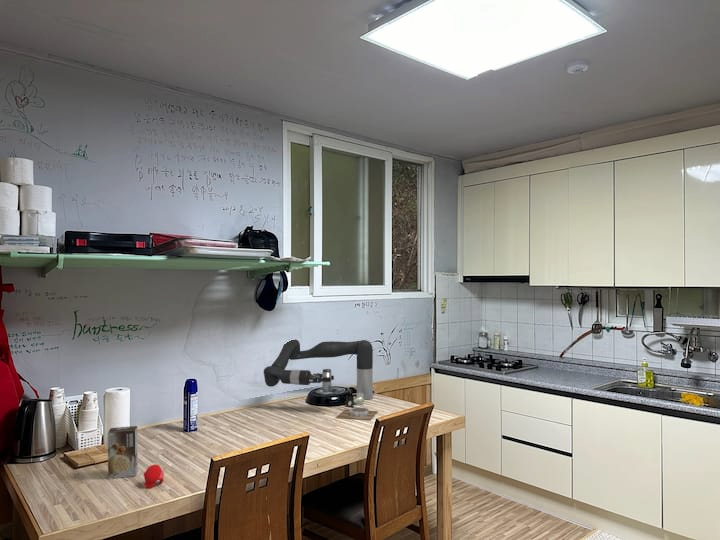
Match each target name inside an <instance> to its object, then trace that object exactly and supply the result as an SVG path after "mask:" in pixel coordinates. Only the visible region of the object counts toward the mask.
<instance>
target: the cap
mask: <svg viewBox="0 0 720 540" xmlns="http://www.w3.org/2000/svg"><path fill="white" fill-rule="evenodd" d="M164 475H165V473H164V470H163V469H162V467H160V465H159V464H152V465H149V467H147V468H146V470H145V472H143V478H144V486H145V489H147V490H150V489H152V488H153V487H154V486H155V485H156V483H157V481H159V484H163V482H164Z"/></svg>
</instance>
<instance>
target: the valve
mask: <svg viewBox="0 0 720 540" xmlns="http://www.w3.org/2000/svg"><path fill="white" fill-rule="evenodd" d="M363 397H364V394H363V393H357V392H356V397H355V398H352V397H351V396H348V397H345V401H344V402H343V403H344V404H345V407H346V408H350V409H351V408H355V405H357V406H364V405H365V404H364V401H365V400H364V398H363Z"/></svg>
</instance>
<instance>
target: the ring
mask: <svg viewBox="0 0 720 540" xmlns="http://www.w3.org/2000/svg"><path fill="white" fill-rule="evenodd" d="M369 411H370V410H369V408H366V407H362V406H361V407H357V406H356V407H354V408H351V407H350V409H349V415H350V416H352V417H366V416H368V415H369Z"/></svg>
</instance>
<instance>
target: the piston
mask: <svg viewBox="0 0 720 540" xmlns="http://www.w3.org/2000/svg"><path fill="white" fill-rule="evenodd" d="M321 374H322V377H330V378H331V375H332V369H331V368H325V369H324V368H323V369H322V373H321ZM321 383H322V393H332V390H333V389H332V387H333V386H332V380H331V381H330V382H321Z"/></svg>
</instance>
